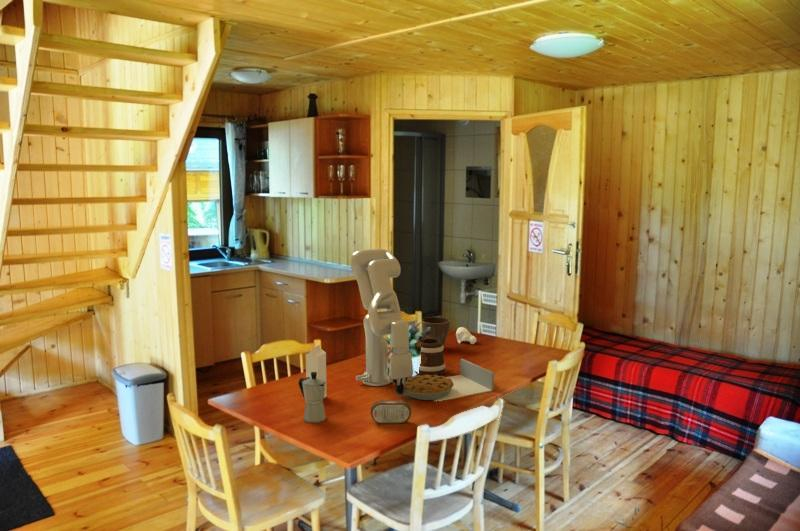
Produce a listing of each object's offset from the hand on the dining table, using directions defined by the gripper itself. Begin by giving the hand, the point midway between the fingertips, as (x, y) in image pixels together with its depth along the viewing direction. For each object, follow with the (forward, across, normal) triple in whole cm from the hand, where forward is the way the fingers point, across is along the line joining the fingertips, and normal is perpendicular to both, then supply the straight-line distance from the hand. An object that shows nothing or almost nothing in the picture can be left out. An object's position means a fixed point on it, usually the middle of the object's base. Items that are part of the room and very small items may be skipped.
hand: (399, 393), depth 254 cm
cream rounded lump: (+2, +73, +62) cm, 96 cm away
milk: (+2, -31, +15) cm, 34 cm away
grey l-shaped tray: (+2, +25, +1) cm, 25 cm away
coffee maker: (+2, -40, -6) cm, 40 cm away
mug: (+2, +28, +27) cm, 39 cm away
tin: (+2, -15, -23) cm, 28 cm away
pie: (+2, +13, -1) cm, 13 cm away
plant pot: (+2, +51, +58) cm, 78 cm away
